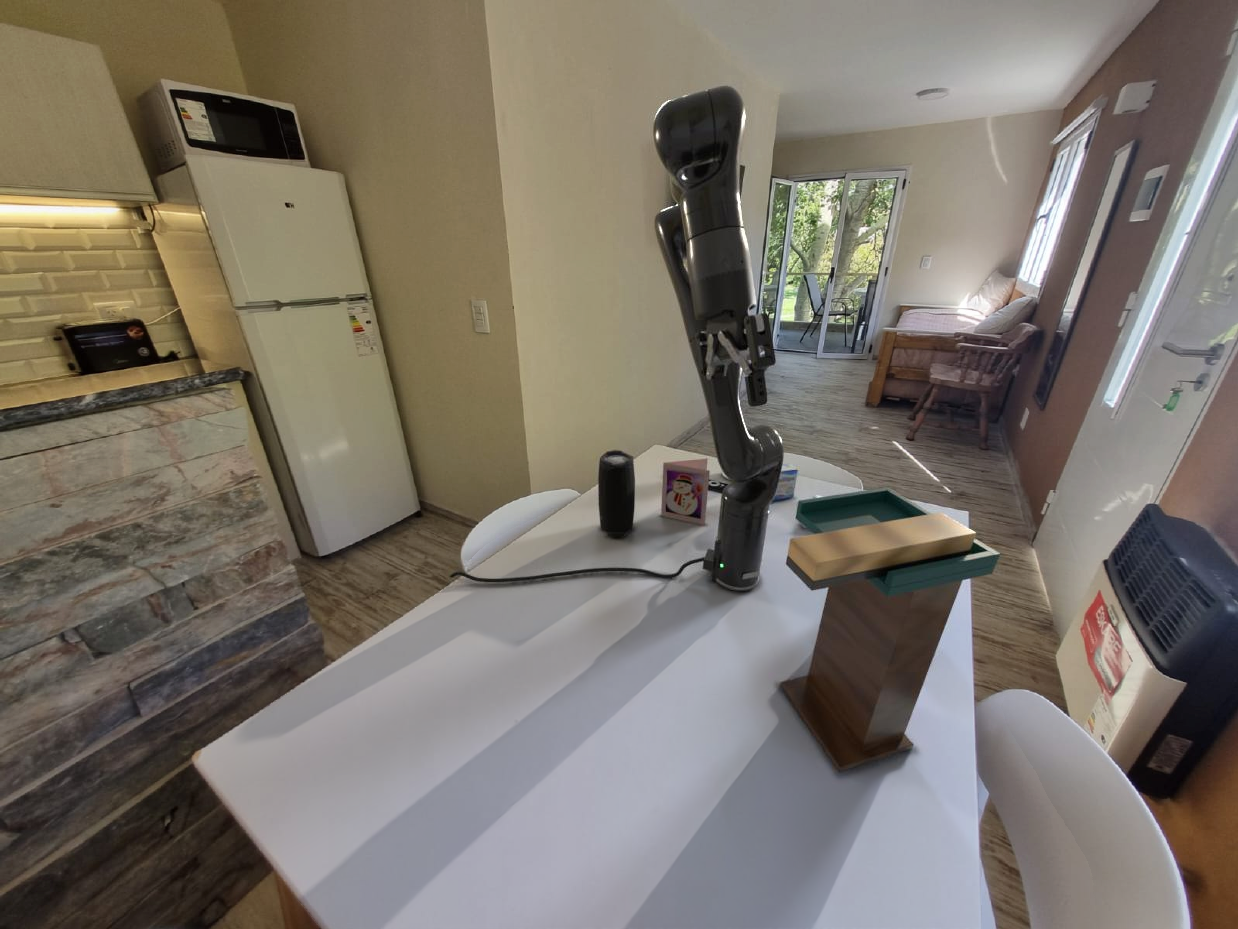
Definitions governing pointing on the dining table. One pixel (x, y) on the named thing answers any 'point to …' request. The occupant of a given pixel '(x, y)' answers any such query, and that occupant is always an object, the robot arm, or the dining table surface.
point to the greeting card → (685, 490)
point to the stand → (869, 669)
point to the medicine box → (786, 482)
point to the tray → (884, 508)
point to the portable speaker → (616, 493)
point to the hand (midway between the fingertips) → (739, 405)
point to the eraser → (876, 549)
